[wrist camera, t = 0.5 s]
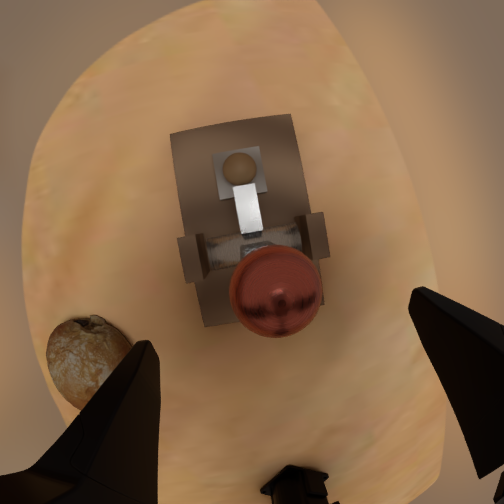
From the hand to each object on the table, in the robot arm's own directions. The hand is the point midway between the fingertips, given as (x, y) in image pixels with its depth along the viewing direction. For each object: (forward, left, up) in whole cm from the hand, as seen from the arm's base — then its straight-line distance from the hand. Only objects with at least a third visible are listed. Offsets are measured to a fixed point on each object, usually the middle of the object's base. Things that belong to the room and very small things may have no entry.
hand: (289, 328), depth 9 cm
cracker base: (+3, +3, -15) cm, 16 cm away
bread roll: (-17, +8, -16) cm, 25 cm away
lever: (+2, +2, -12) cm, 12 cm away
